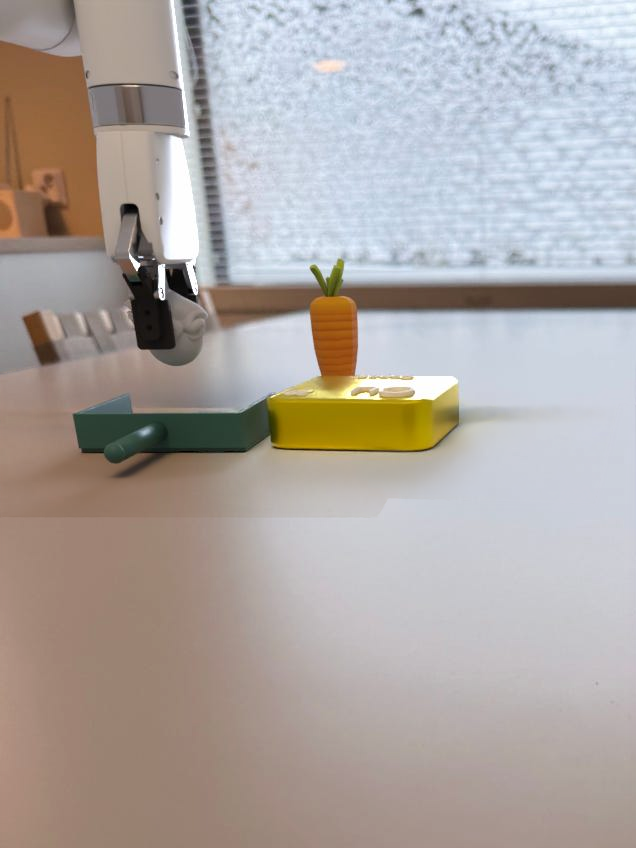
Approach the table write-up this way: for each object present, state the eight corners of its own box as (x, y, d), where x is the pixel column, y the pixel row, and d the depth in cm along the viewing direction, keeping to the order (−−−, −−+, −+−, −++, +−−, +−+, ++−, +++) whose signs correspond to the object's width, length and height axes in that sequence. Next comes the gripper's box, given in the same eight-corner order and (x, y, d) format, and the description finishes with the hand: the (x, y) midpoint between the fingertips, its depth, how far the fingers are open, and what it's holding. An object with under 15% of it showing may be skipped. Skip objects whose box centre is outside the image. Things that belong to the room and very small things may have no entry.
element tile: (463, 420, 95) (462, 371, 93) (429, 452, 81) (427, 395, 79) (319, 418, 97) (315, 370, 96) (263, 449, 84) (257, 393, 82)
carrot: (318, 411, 102) (306, 259, 96) (316, 403, 106) (304, 258, 100) (365, 408, 103) (355, 258, 97) (361, 401, 107) (351, 257, 101)
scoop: (131, 428, 94) (125, 393, 93) (278, 427, 93) (275, 392, 92) (23, 479, 75) (14, 436, 74) (207, 479, 74) (201, 435, 72)
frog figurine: (131, 365, 87) (118, 283, 85) (208, 359, 90) (198, 280, 87) (138, 372, 82) (124, 286, 80) (220, 367, 85) (210, 283, 82)
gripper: (137, 128, 87) (166, 335, 94) (44, 105, 71) (88, 357, 78) (218, 126, 86) (241, 334, 93) (143, 102, 70) (178, 356, 77)
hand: (171, 342), depth 85 cm, fingers closed on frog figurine, 6 cm apart
